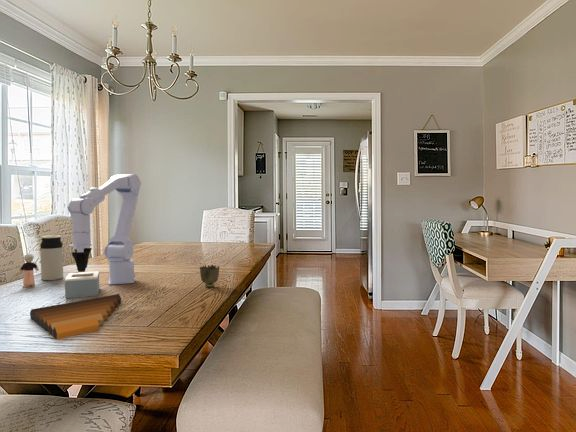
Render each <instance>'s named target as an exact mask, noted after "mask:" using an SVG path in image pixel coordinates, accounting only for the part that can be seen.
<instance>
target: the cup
mask: <svg viewBox="0 0 576 432" xmlns="http://www.w3.org/2000/svg"><path fill="white" fill-rule="evenodd" d="M199 274H200V280H201V282H202V283H204V287H205V288H206V287H207V288H206V289H212V288H211V287H213V288H214V287H215V283H216V282H218V279H219V274H220V266H219V265H218V266H217V265H213V264H210V265H202V266H200V267H199Z"/></svg>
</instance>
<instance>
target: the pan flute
mask: <svg viewBox="0 0 576 432" xmlns="http://www.w3.org/2000/svg"><path fill="white" fill-rule="evenodd" d="M121 303H122V297H121V295H120V293H117V294H112V295H106V296H101V297H94V298H87V299H84V300H83V299H82V300H78V301H72V302H71V301H70V302H67V303H66V302H65V303H61V304H60V303H59V304H54V305H50V306H49V305H48V306H44V307H38V308H32V309H31V310H30V312H29V314H30V315H29V316H30V319H31V320H32V321H33V322H34V323H36V324H37V325H38V326H39V327H40V328H42V329H43V330H44V331H46V332H47V333H49V335H51V337H53V338H54V339H55V340H60V339H64V338H68V337H73V336H77V335H82V334H85V333H90V332H94V331H95V332H96V331H98V330H99V328H100V326H103V325H104V321H107V320H108V315H109V316H112V312H115V309H116V308H118V307H119V304H121ZM111 311H112V312H111Z"/></svg>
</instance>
